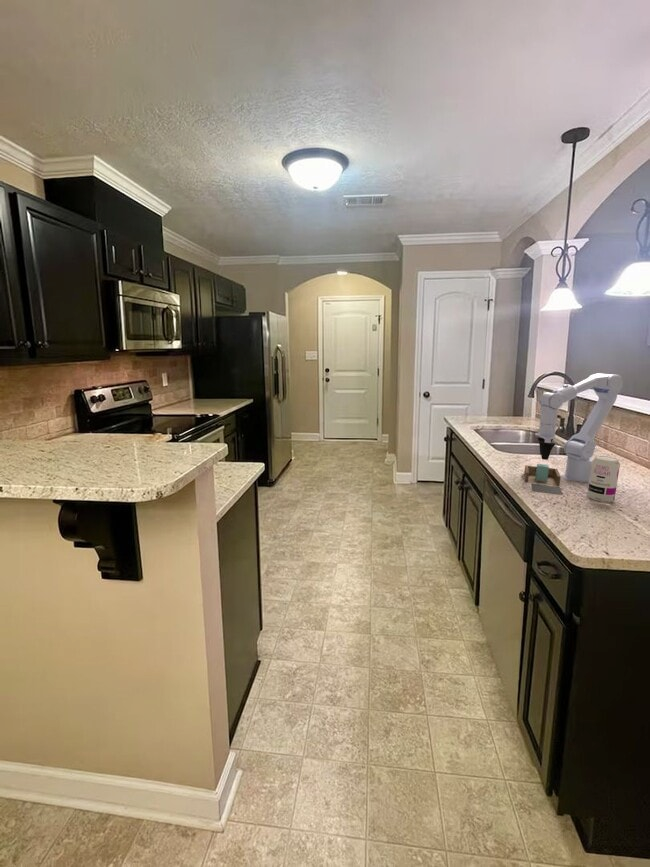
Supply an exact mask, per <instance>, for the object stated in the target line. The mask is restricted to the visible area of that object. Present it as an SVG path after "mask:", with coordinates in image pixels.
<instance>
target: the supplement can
mask: <svg viewBox="0 0 650 867" xmlns="http://www.w3.org/2000/svg"><path fill="white" fill-rule="evenodd" d="M592 460H593V461H592V465H591V472H590V479H589V482H588V485H587V486H588V487H587V498H589V499H591V500H594V501H597V502H603V503H612V502H614V501H615V499H616V498H615V497H616V493H617V488H618V487H617V486H618V481H619V474H620V468H621V467H620V466H621V464H620V461H619V459H618V458H616V457H612V456H605V455H597V456H594V458H593V459H592Z"/></svg>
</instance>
